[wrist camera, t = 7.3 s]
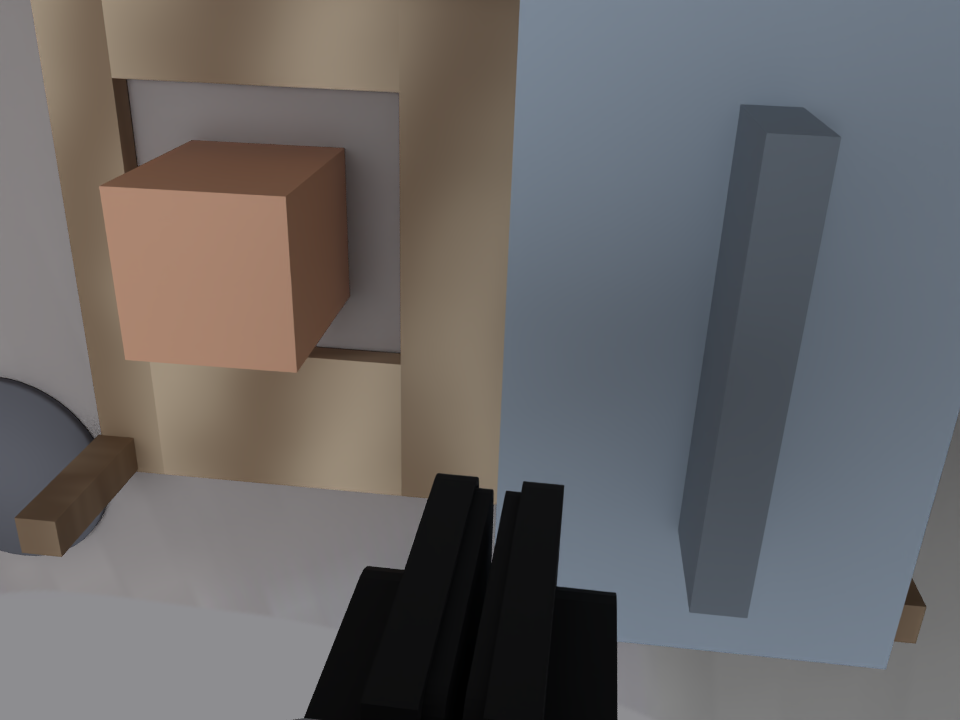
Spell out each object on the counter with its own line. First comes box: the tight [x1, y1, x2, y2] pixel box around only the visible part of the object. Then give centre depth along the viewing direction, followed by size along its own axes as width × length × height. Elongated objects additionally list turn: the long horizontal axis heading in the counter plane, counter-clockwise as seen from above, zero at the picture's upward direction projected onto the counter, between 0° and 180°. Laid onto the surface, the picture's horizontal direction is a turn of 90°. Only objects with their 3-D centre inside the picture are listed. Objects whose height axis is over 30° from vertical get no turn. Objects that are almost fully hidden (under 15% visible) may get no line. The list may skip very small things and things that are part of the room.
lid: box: [495, 0, 960, 669], centre depth 19 cm, size 10×17×4 cm, turn 178°
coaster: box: [0, 378, 106, 556], centre depth 32 cm, size 7×7×1 cm
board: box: [14, 0, 926, 643], centre depth 24 cm, size 25×17×6 cm
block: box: [99, 140, 350, 373], centre depth 25 cm, size 4×4×6 cm
